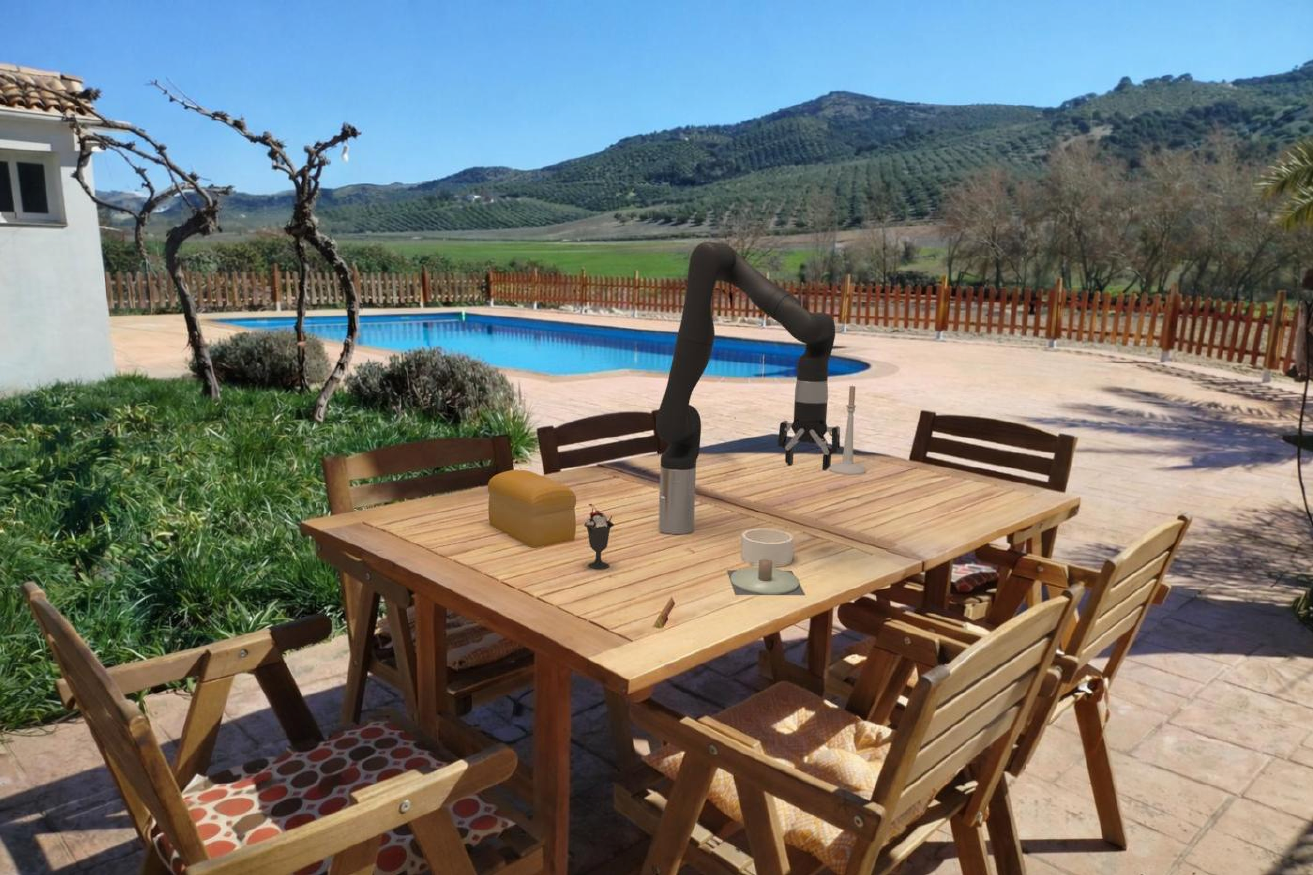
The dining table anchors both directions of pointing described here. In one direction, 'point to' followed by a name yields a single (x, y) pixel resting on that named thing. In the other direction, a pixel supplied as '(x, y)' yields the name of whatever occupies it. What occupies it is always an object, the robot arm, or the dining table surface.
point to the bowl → (767, 546)
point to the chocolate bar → (664, 614)
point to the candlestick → (848, 444)
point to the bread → (532, 508)
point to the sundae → (598, 536)
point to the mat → (741, 592)
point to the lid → (765, 579)
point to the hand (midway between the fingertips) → (807, 467)
